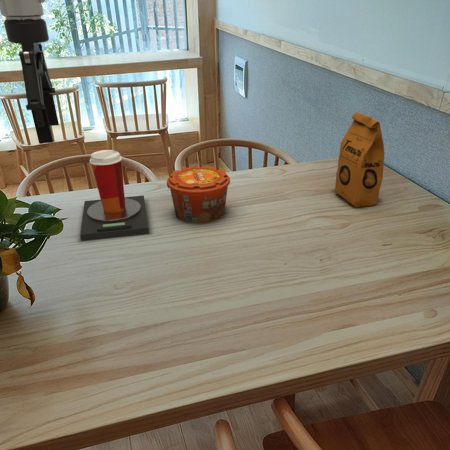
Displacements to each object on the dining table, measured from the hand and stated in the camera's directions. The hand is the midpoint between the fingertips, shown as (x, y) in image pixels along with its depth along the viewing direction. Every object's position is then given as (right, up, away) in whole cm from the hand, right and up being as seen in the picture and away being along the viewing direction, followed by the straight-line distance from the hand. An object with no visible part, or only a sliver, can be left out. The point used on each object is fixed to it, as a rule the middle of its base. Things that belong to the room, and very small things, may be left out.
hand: (49, 133), depth 97 cm
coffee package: (+75, -8, +28) cm, 80 cm away
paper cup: (+10, -13, +18) cm, 24 cm away
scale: (+10, -16, +19) cm, 27 cm away
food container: (+32, -14, +22) cm, 41 cm away
